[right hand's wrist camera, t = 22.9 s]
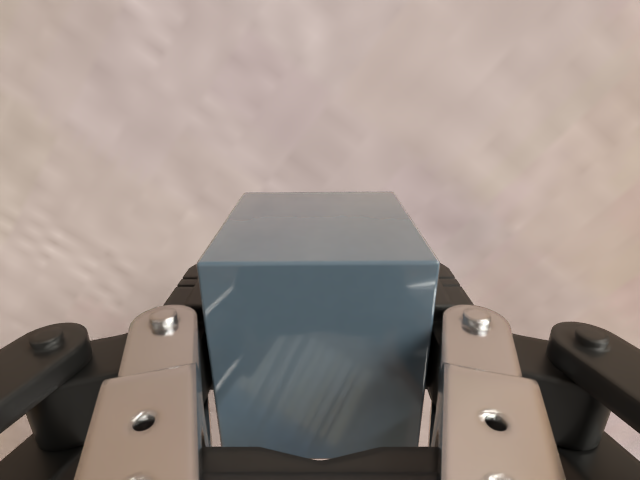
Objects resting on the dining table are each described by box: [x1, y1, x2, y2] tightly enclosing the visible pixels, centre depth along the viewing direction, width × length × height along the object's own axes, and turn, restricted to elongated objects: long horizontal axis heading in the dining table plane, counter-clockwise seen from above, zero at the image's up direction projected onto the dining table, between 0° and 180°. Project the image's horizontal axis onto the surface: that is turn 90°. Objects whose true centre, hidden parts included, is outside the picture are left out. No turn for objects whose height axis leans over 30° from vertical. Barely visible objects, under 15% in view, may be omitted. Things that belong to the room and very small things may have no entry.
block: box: [196, 192, 440, 459], centre depth 10 cm, size 5×4×5 cm
